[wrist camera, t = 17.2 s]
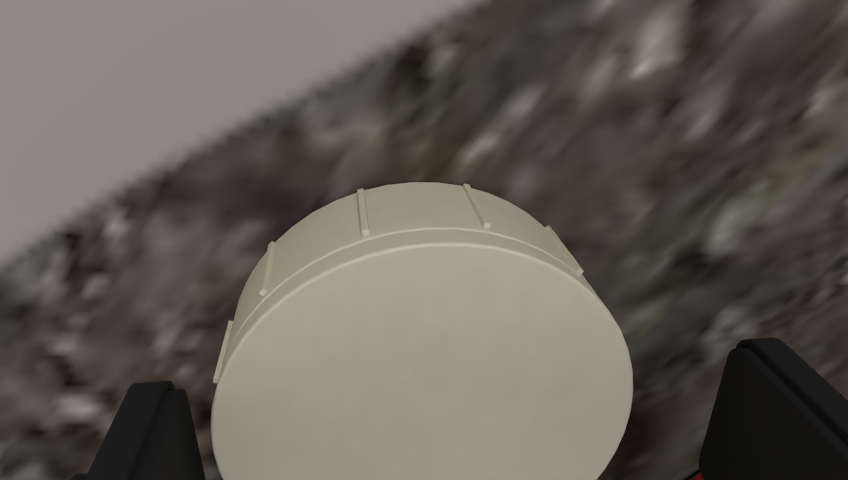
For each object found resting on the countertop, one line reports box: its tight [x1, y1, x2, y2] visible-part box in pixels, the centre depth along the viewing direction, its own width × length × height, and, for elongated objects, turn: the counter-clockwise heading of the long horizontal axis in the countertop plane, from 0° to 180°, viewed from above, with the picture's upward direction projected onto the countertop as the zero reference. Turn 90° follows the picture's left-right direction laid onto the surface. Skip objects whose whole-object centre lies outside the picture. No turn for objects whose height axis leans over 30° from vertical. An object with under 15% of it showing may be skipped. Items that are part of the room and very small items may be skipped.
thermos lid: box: [210, 182, 633, 480], centre depth 11 cm, size 7×7×2 cm
